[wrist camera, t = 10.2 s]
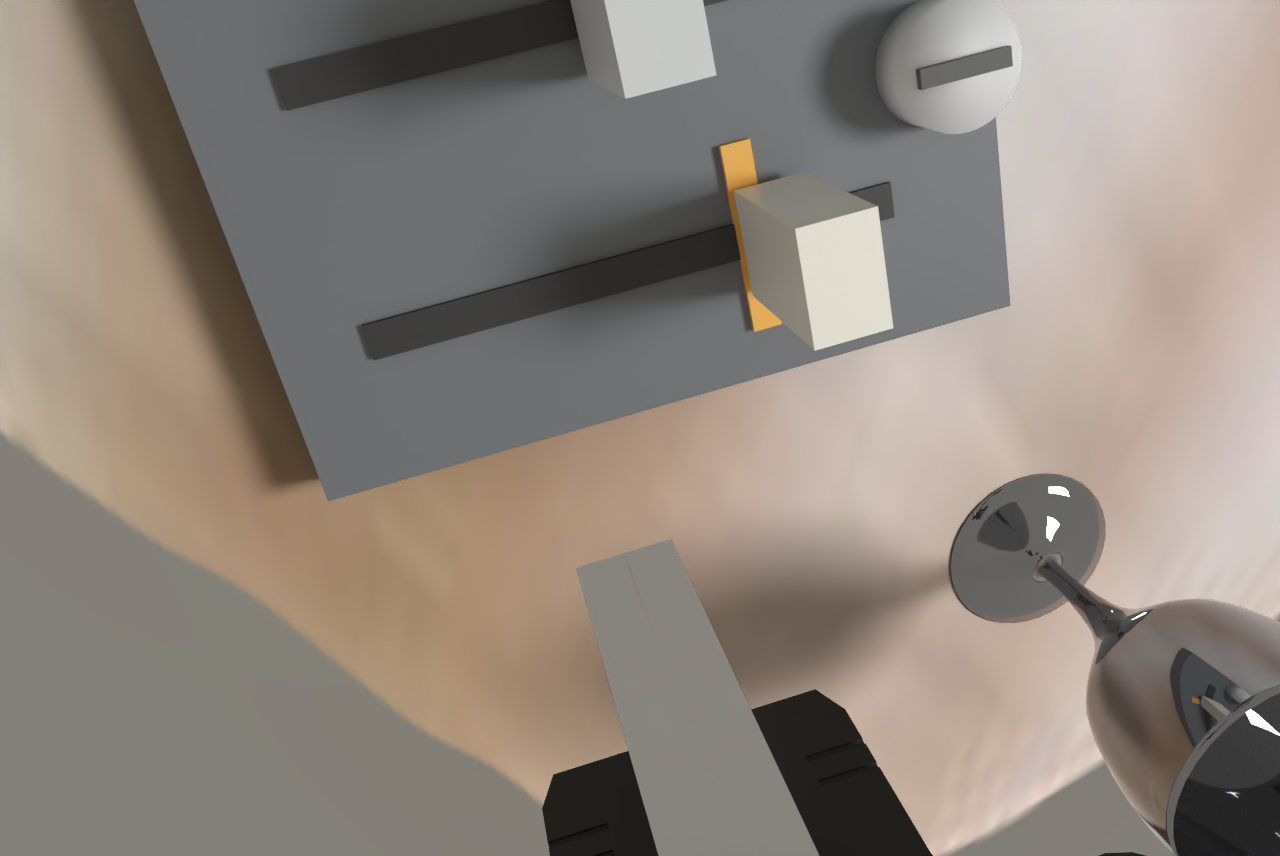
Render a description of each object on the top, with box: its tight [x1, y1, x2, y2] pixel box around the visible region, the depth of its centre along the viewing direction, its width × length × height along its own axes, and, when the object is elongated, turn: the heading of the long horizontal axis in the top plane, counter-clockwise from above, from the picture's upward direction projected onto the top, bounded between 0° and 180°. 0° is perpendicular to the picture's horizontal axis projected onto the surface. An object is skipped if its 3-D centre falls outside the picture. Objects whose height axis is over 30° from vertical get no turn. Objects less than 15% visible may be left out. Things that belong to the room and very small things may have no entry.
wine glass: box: [950, 474, 1280, 856], centre depth 39 cm, size 8×8×15 cm
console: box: [134, 0, 1022, 501], centre depth 34 cm, size 18×25×4 cm
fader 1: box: [570, 0, 716, 99], centre depth 29 cm, size 4×2×6 cm, turn 13°
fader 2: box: [734, 172, 893, 351], centre depth 33 cm, size 4×2×6 cm, turn 13°
